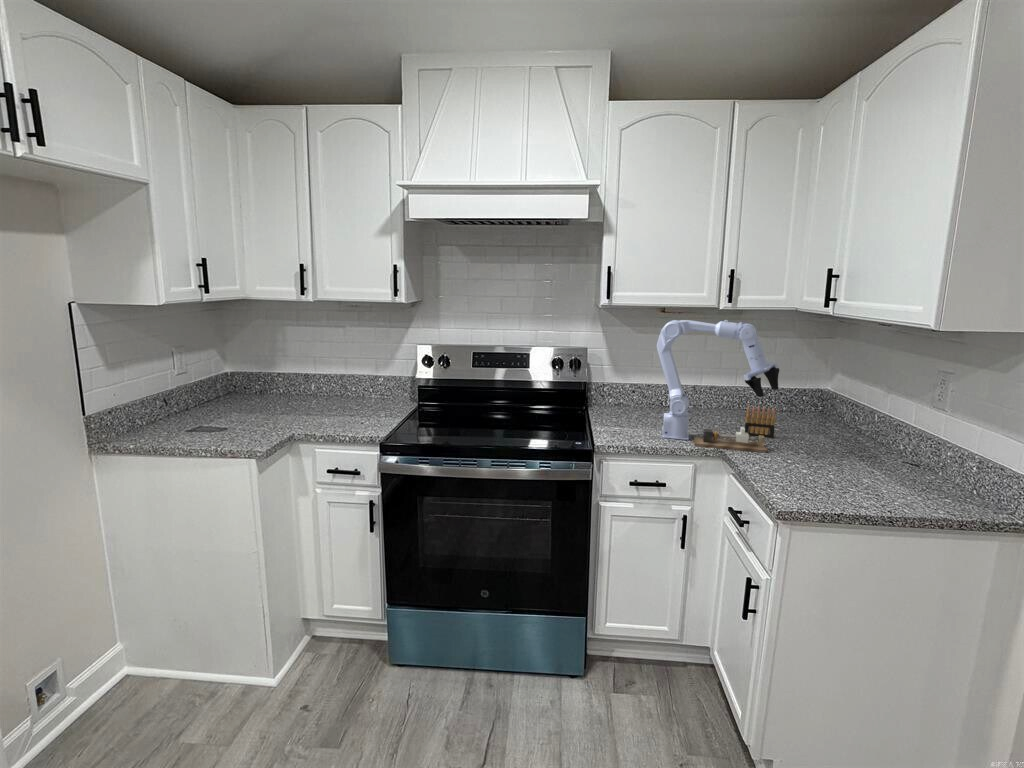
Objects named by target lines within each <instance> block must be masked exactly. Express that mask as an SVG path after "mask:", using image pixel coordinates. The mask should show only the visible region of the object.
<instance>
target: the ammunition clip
mask: <svg viewBox="0 0 1024 768" xmlns="http://www.w3.org/2000/svg"><path fill="white" fill-rule="evenodd" d="M775 426H776V408H775V406H773V407H772V410H771V407H770V406H768V408H767V410H766V407H765V406H764V405H763V407H762V410H761V405H758V407H757V409H756V406H755V405H753V407H752V409H751V405H750V404H748V406H747V408H746V414H745V420H744V426H743V427H744V428H745V433H748V434H749V435H750V436H749V437H755V436H758V437H757V438H759V435H761V436H764V437H767V439H774V437H775Z"/></svg>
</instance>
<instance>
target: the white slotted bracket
mask: <svg viewBox="0 0 1024 768" xmlns="http://www.w3.org/2000/svg"><path fill="white" fill-rule="evenodd" d="M744 427H745V426H740V431H736V432H735V436H736V438H734V440H736V442H746V443H748V442H749V440H748V439H749V437H750V436H749V434H748V433H745V428H744Z"/></svg>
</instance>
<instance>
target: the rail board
mask: <svg viewBox="0 0 1024 768" xmlns="http://www.w3.org/2000/svg"><path fill="white" fill-rule="evenodd" d="M702 436H703V437H702ZM702 436H693V442H694V447H701V448H711V449H712V448H713V449H718V450H719V449H722V450H732V451H740V452H741V451H742V452H753V453H761V452H763V453H762V454H768V449H767V447H766V445H765V443H766V442H765V440H766V439H765V437H764V436H761V435H759V437H755V436H749V439H748V443H746V442H736V440H735V438H736V435H732V434H723V433H718V430H714V431H713V429H707V428H704V429H703V435H702ZM722 438H723V439H722Z"/></svg>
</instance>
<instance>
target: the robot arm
mask: <svg viewBox="0 0 1024 768" xmlns="http://www.w3.org/2000/svg"><path fill="white" fill-rule="evenodd" d="M690 332H701V333H713V334H715V335H716V336H717V338H723V339H730V340H738V339H739V340H741V342H742V345H743V351H744V353H745V356H746V359H747V362H748V365H749V366H748V367H749V368H750V371H748V372H747V373H745V374H743V378H744V382H745V384H747V386H749V387H750V388H751V390H752V391H753V392H754V394H755V396H756V397H757V398H761V397H764V396H765V395H764V391H763V387H762V382H761V381H762V377H757V376H760V375H762V374H763V375H764V376H765V378H766V379H767V381H768V383H769V385H770V388H771V389H772V391H774V390H779V374H780V367H778V364H777V362H776V361H773V362H772V361H771V362H770V363H768V361H767V359H766V355H765V353H764V350H763V347H762V344H761V342H760V341H759V340H760V339H759V337H758V335H757V329H756V327H755V326H754V325H753V324H750V323H748V322H747V323H743V322H742V321H739V323H738V322H731V321H729V320H728V319H724V321H719V322H717V323H716V324H715V323H709V322H703V321H697V320H691V319H688V320H684V319H681V320H677V319H673V320H670V321H669V322H666V323H665V325H664V326H663V327H662V329H661V330H660V333H659V336H658V340H657V343H656V350H657V354H658V358H659V361H660V365H661V369H662V371H663V374H664V378H665V381H666V385H667V389H668V392H669V393H668V395H669V401H670V404H669V409H670V410H669V411H668V412H664V413H663V423H662V425H663V426H662V427H661V432H662V436H661V437H662V438H663V439H673V440H675V439H676V440H685V441H687V440H690V438H689V437H690V436H689V433H688V431H689V421H690V413H689V411H688V408H689V407H690V399H689V397H688V396H687V394H686V392H685V390H684V388H683V386H682V383H681V378H680V375H679V373H678V372H679V371H678V369H677V366H676V362H675V358H674V355H673V352H672V351H673V350H672V348H671V347H672V345H673V344H674V343H675V340H676V339H677V338H679V337H680V336H682V334H683V335H685V334H687V333H690Z"/></svg>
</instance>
